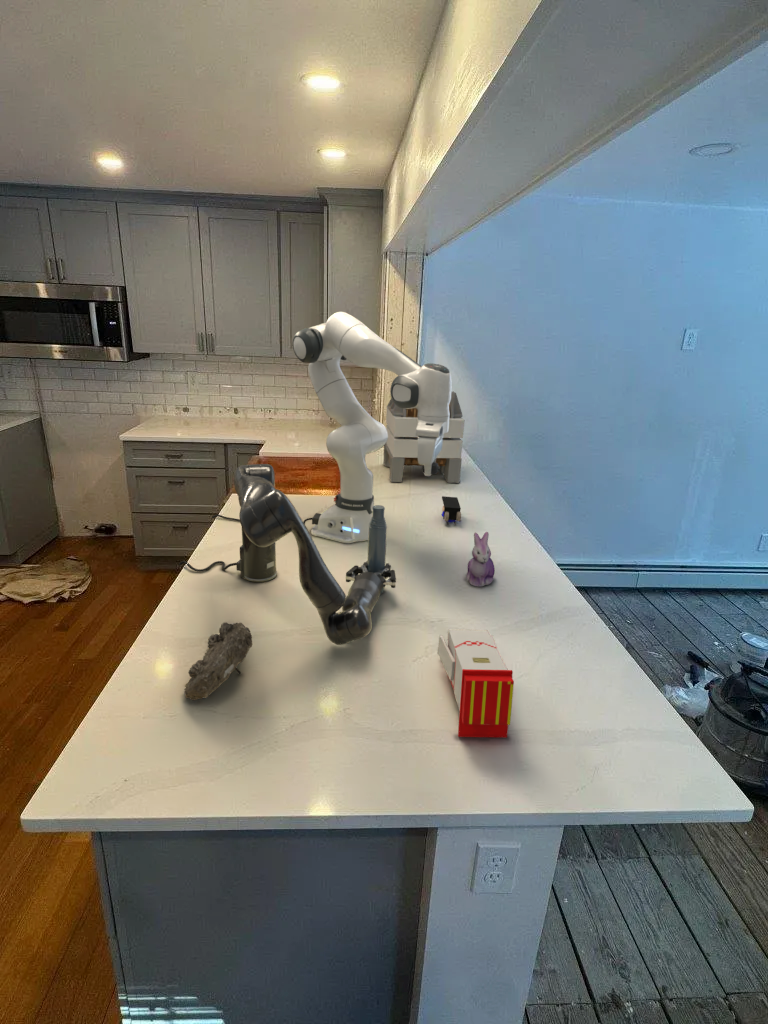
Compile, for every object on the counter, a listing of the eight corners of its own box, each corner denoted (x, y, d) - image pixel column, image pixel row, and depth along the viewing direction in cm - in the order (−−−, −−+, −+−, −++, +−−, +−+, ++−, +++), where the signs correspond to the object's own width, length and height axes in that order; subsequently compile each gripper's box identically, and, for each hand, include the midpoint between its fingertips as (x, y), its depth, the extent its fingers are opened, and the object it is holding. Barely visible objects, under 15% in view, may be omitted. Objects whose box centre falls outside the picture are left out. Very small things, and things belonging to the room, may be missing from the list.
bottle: (373, 584, 162) (377, 502, 154) (387, 590, 160) (391, 506, 151) (362, 590, 159) (365, 507, 150) (376, 596, 156) (380, 511, 147)
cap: (430, 475, 159) (431, 466, 158) (419, 471, 161) (419, 463, 161) (440, 472, 161) (441, 464, 161) (429, 469, 164) (430, 460, 164)
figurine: (477, 590, 161) (482, 542, 156) (457, 575, 170) (461, 529, 165) (503, 584, 166) (509, 537, 161) (482, 570, 174) (487, 525, 169)
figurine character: (461, 530, 209) (456, 512, 222) (463, 512, 205) (458, 495, 219) (443, 530, 208) (439, 512, 222) (445, 511, 205) (440, 494, 218)
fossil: (205, 625, 130) (252, 594, 125) (233, 653, 133) (280, 624, 128) (163, 694, 111) (216, 661, 106) (197, 725, 114) (251, 694, 109)
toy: (488, 613, 130) (523, 677, 101) (484, 667, 133) (517, 744, 104) (435, 612, 130) (455, 676, 101) (432, 666, 133) (451, 743, 103)
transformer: (382, 463, 289) (386, 382, 275) (445, 464, 293) (451, 384, 279) (390, 482, 257) (394, 392, 243) (460, 483, 261) (468, 394, 247)
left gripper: (393, 582, 141) (403, 555, 157) (337, 575, 144) (353, 549, 159) (391, 609, 144) (402, 580, 160) (336, 602, 146) (352, 573, 162)
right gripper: (428, 417, 167) (424, 463, 172) (414, 430, 148) (411, 481, 153) (449, 419, 166) (445, 465, 170) (438, 432, 147) (434, 483, 152)
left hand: (377, 565), depth 159 cm, fingers closed on bottle, 5 cm apart
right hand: (429, 472), depth 162 cm, fingers closed on cap, 4 cm apart
